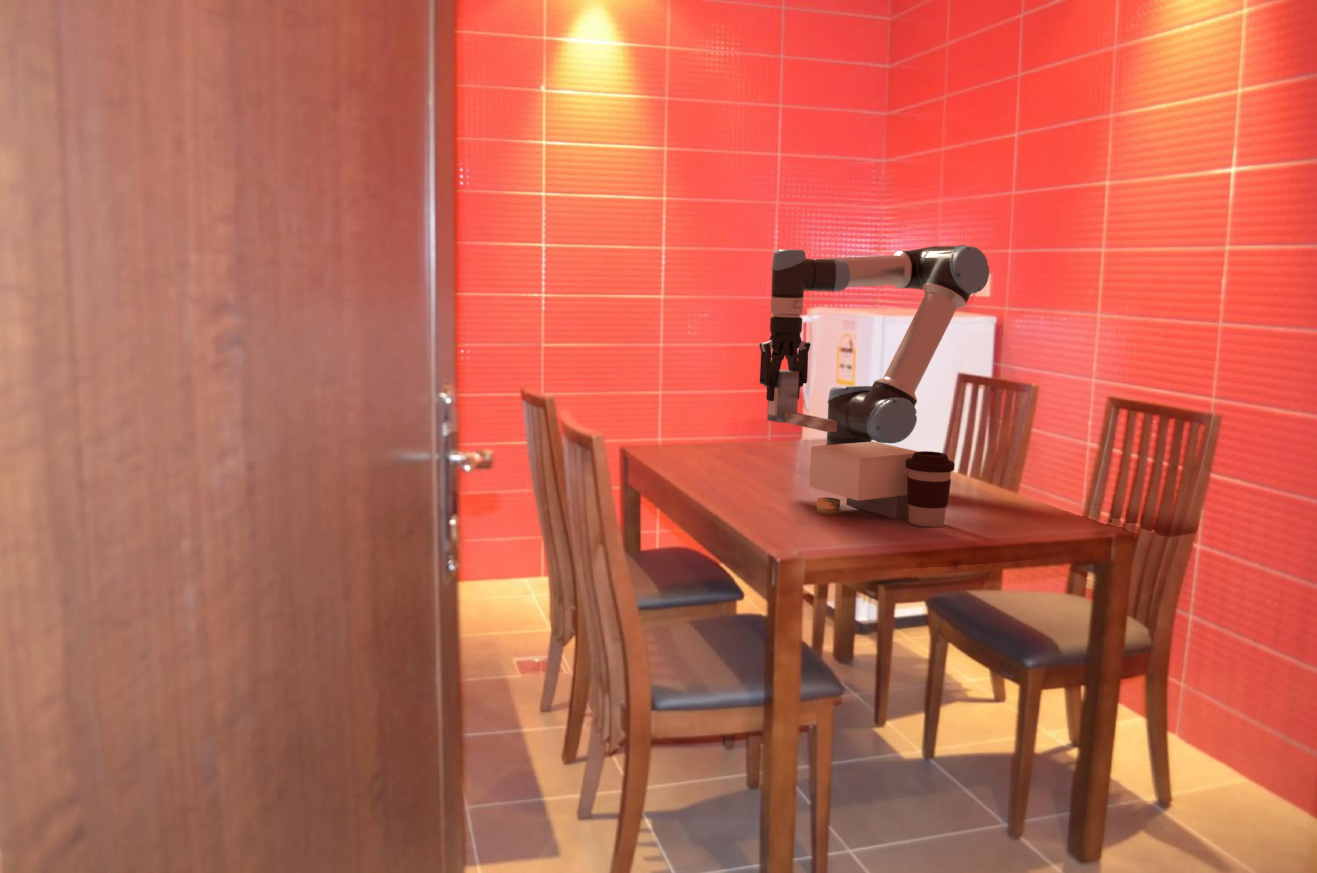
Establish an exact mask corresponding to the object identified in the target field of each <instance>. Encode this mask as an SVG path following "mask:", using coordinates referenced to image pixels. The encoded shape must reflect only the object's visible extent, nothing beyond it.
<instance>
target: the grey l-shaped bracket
mask: <svg viewBox="0 0 1317 873" xmlns="http://www.w3.org/2000/svg"><path fill="white" fill-rule="evenodd" d="M798 382H799V371H791V370H789V369H780V371H779V375H778V379H777V383H776V386H775V387H776V388H778V412H777V415H771V414H768V412H767V414H766V415H767V416H766V418H767V419H766V420H767V421H769V422H775V423H779V424H784V423H786V424H789V425H795V426H797V427H804V428H808V429H812V430H817V431H822V432H826V433H827V432H836V430H837V421H835V420H830V419H828V418H825V417H819V416H815V415H814V416H813V415H809V414H806V413H805V414H804V413H800V412H798V403H799V401H798ZM768 402H769V401H768V400H767V403H768Z"/></svg>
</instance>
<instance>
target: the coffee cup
mask: <svg viewBox="0 0 1317 873" xmlns="http://www.w3.org/2000/svg"><path fill="white" fill-rule="evenodd" d="M955 465H956V464H955V462H954V461H953V460H950V459H949V456H948V454H946V453H943V452H939V451H928V450H927V451H926V450H925V451H924V450H921V451H919V452H915V453H914V454H913V456H912V458H908V459H906V468H908V476H907V502H908V507H909V517H908V522H909V523H910V525H914V526H916V527H917V526H918V527H923V528H924V527H925V528H938V527H942V526H943V525H944V524H945V518H946V511H947V507H948V505H949V499H950V489H951V484H952V483H951V482H952V478H951V476H952V475H951V474H952V472H953V471H954V470H955Z"/></svg>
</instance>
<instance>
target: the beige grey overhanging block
mask: <svg viewBox="0 0 1317 873" xmlns="http://www.w3.org/2000/svg"><path fill="white" fill-rule="evenodd" d="M915 452H920V451H918V450H914V449H909V448H904V447H899V446H895V445H891V444H887V443H880V442H876V441H871V442H862V443H849V444H836V445H826V444H824V445H812V446H810V464H809V483H808V484H809V485H808V486H809V488H810V487H811V488H812V489H813V488H814V489H817V490H820V491H824V492H827V493H829V494H830V493H831V494H833V495H837V496H840V497H844V498H846V506H847V505H848V506H851V507H854V508H858V509H861V510H865V511H868V512H871V513H874V514H877V515H880V516H885V517H887V518H891V519H894V520H898V519H903V518H904V519H905V518H909V507H908V502H907V476H908V468H906V459H908V458H912V456H913V454H914V453H915Z"/></svg>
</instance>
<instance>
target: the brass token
mask: <svg viewBox="0 0 1317 873" xmlns="http://www.w3.org/2000/svg"><path fill="white" fill-rule="evenodd" d="M840 510H841V499H839V498H836V497H829V496H828V497H818V498H816V514H819V515H822V516H838V515H840V512H841V511H840Z"/></svg>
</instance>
